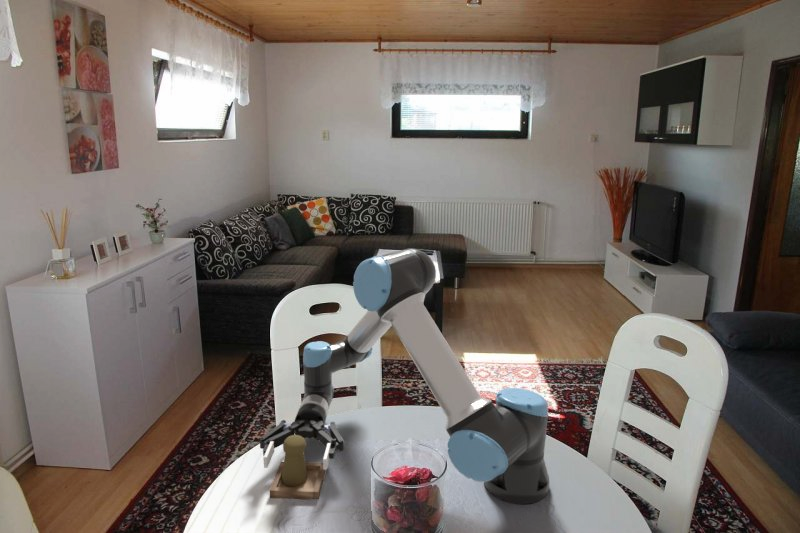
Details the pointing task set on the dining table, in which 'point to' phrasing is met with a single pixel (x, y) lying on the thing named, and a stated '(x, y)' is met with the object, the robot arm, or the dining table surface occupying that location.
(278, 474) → the tray
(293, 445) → the cork
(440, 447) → the dining table surface
